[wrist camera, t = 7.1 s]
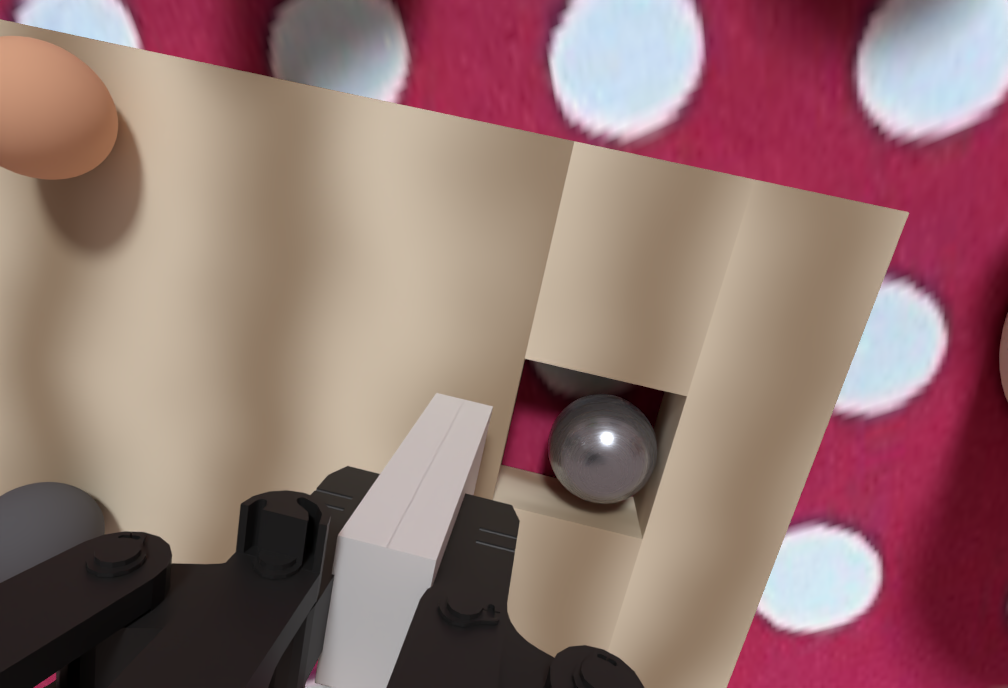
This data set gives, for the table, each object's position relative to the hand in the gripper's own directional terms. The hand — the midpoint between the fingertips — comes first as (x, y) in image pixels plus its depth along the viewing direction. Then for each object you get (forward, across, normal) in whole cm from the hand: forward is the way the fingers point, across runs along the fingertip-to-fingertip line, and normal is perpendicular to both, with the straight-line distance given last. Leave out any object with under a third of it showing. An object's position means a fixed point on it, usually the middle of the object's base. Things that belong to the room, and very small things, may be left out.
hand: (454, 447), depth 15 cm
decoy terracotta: (0, -12, +6) cm, 13 cm away
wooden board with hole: (+4, -2, 0) cm, 5 cm away
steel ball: (+3, +4, 0) cm, 5 cm away
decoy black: (0, -12, -6) cm, 13 cm away
